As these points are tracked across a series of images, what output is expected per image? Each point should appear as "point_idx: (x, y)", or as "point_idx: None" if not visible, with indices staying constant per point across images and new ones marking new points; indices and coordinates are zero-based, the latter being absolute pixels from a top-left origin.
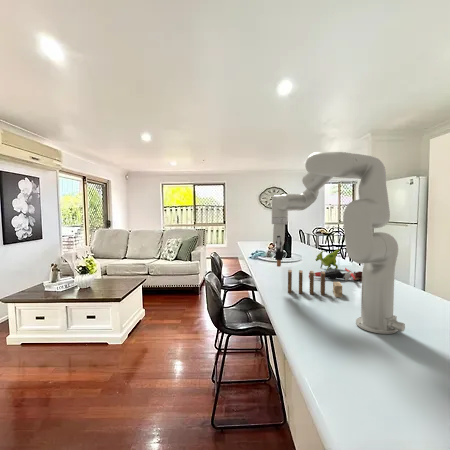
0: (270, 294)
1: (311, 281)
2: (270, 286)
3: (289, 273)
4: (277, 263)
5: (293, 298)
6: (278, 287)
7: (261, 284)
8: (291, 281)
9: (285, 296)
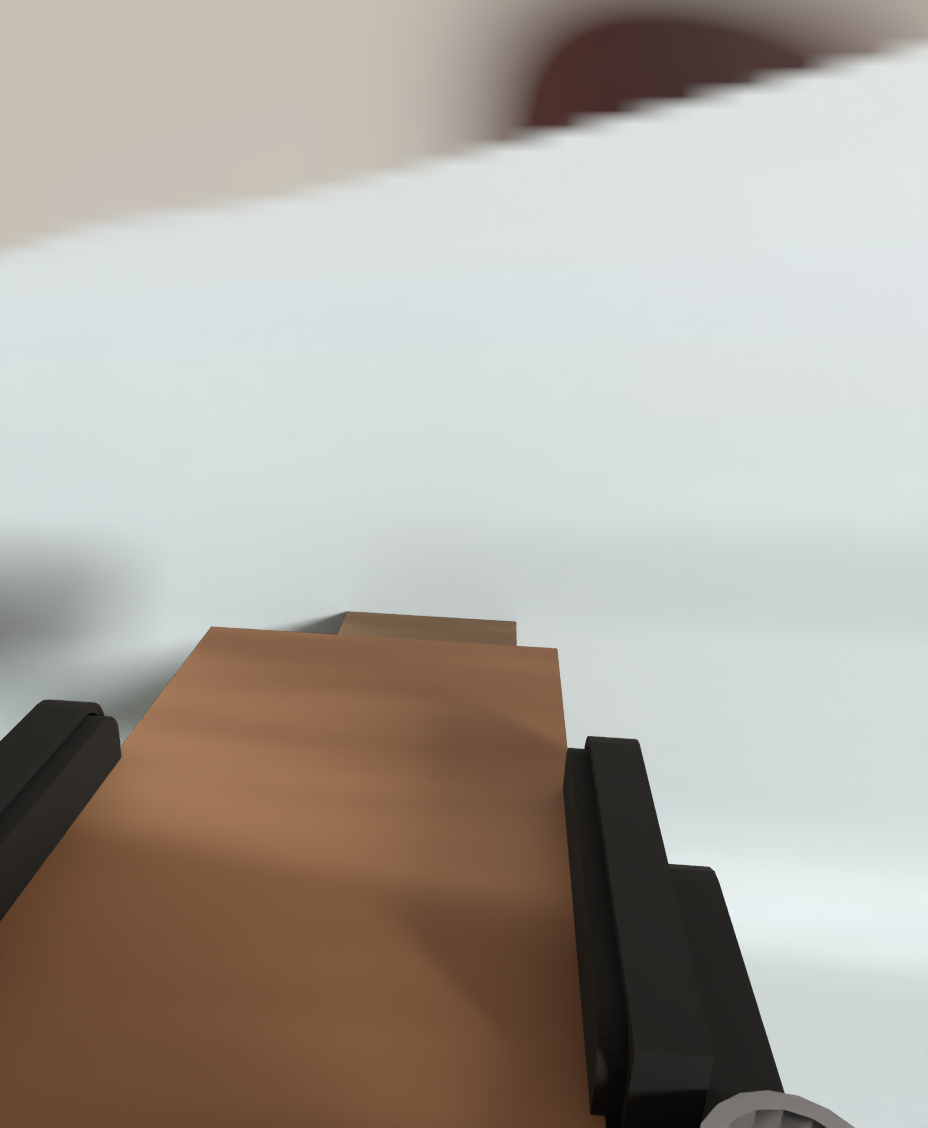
0: (181, 335)
1: None
2: (723, 312)
3: None
4: (174, 689)
5: (84, 675)
6: (665, 465)
7: (879, 100)
8: None
9: (145, 572)
